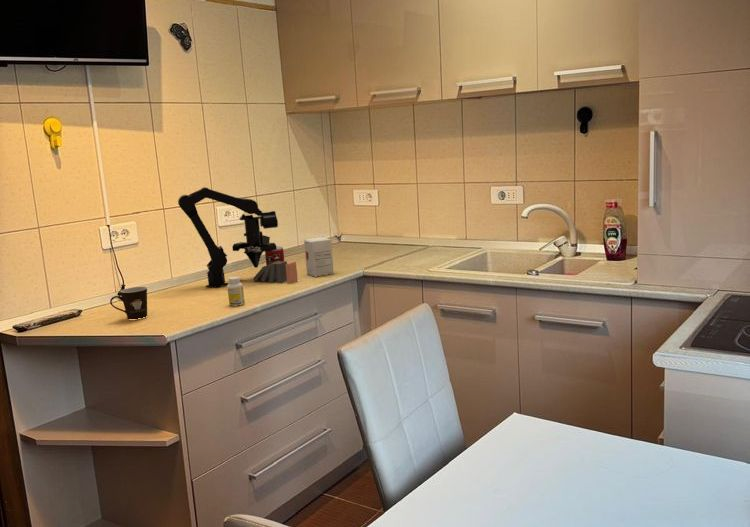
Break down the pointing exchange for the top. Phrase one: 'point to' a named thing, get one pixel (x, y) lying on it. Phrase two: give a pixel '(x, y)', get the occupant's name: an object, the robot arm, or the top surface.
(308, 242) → the supplement box
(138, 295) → the coffee mug
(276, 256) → the canned food
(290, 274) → the domino
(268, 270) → the domino
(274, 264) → the domino
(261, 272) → the domino
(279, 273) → the domino
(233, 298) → the supplement bottle
